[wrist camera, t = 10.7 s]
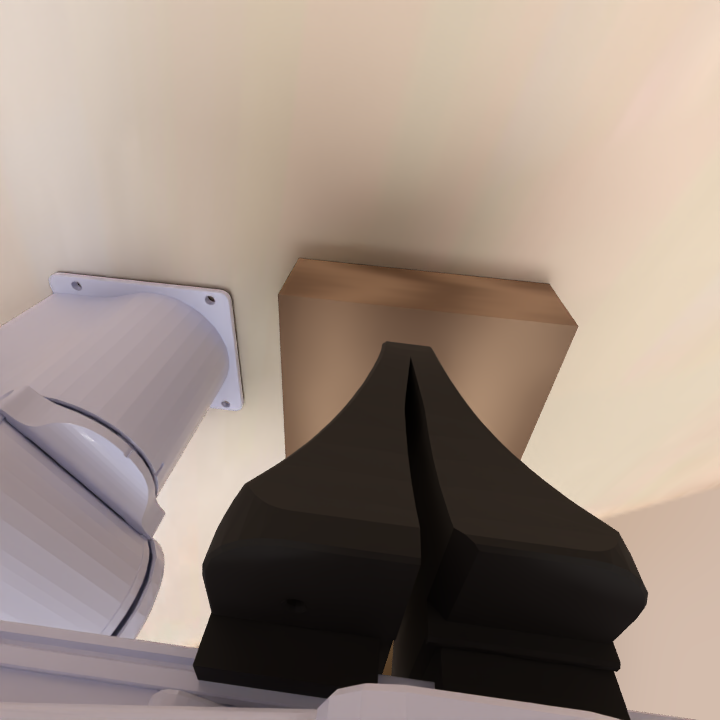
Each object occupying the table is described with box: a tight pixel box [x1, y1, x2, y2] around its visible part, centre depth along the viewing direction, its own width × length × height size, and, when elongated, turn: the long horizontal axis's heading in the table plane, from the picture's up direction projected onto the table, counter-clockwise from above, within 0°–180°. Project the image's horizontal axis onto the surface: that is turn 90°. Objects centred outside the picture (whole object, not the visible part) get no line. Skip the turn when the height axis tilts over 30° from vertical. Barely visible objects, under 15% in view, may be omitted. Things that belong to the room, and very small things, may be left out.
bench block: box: [278, 258, 578, 460], centre depth 21 cm, size 12×12×4 cm
